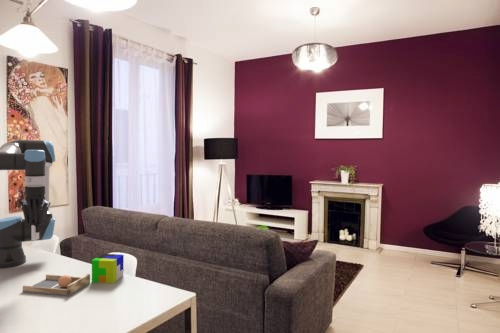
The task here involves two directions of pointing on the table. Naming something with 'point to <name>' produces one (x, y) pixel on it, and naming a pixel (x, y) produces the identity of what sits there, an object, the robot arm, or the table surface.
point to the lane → (52, 286)
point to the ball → (64, 281)
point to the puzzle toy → (107, 268)
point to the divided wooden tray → (70, 289)
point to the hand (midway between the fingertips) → (35, 239)
